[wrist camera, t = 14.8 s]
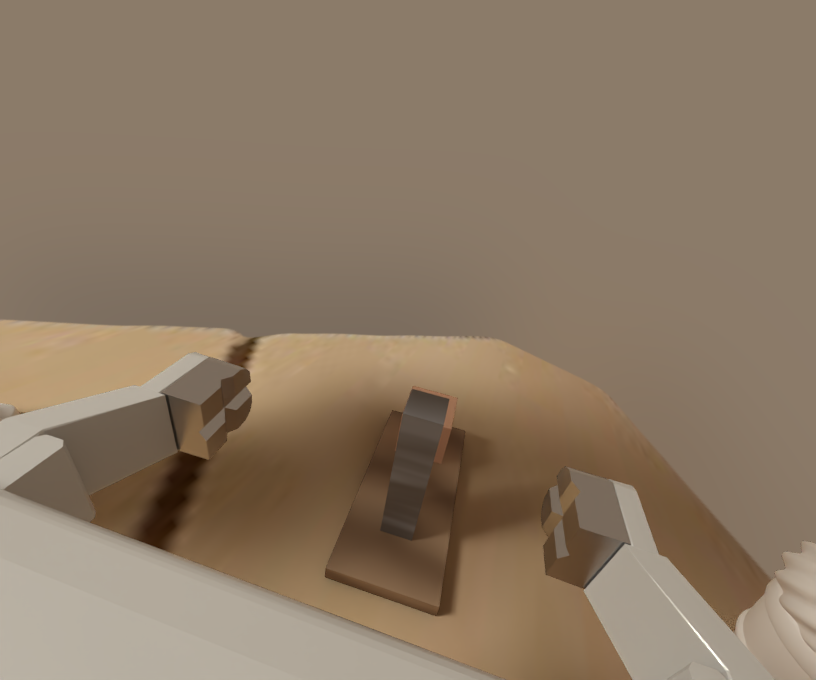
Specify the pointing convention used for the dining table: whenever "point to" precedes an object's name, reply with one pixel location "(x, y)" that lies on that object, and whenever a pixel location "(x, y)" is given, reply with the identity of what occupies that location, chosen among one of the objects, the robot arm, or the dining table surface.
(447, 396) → the terracotta block
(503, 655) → the dining table surface
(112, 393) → the robot arm
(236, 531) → the dining table surface
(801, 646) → the soft serve ice cream cone
